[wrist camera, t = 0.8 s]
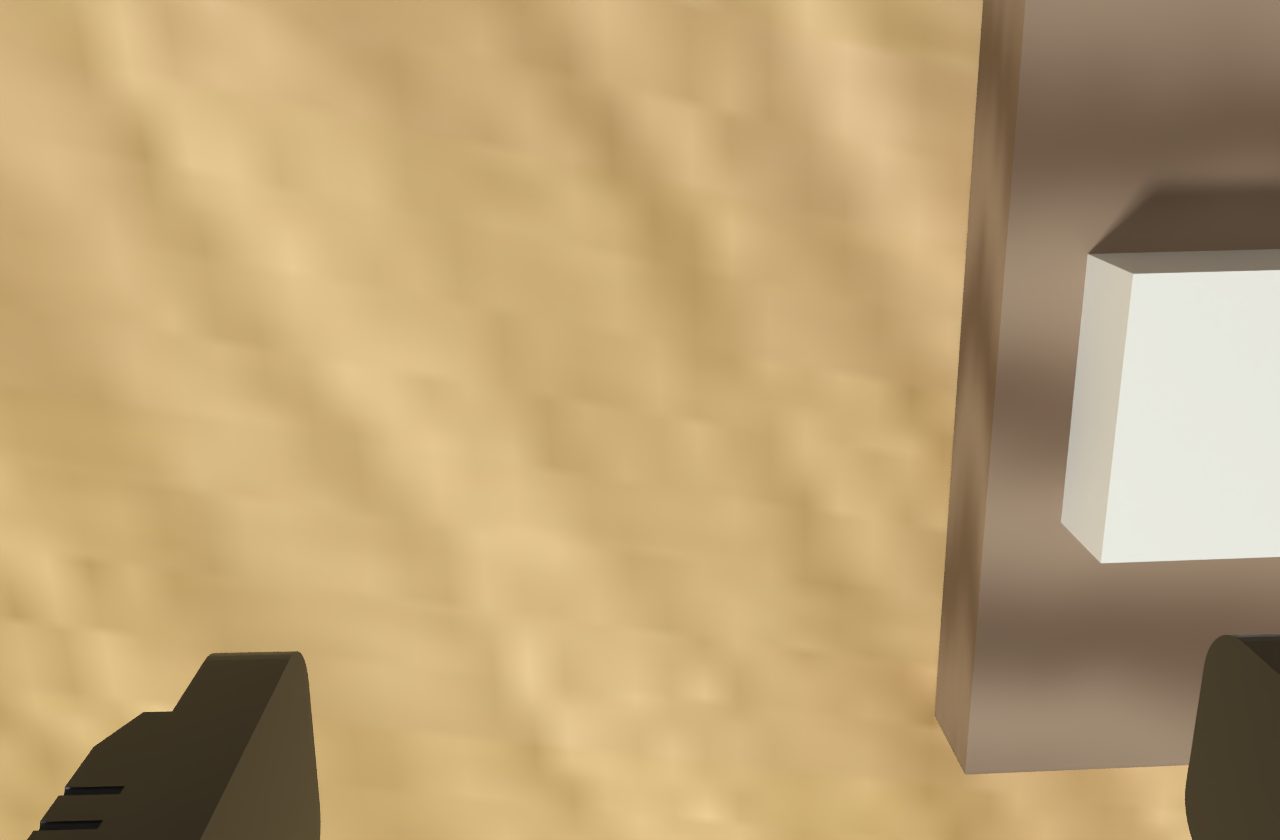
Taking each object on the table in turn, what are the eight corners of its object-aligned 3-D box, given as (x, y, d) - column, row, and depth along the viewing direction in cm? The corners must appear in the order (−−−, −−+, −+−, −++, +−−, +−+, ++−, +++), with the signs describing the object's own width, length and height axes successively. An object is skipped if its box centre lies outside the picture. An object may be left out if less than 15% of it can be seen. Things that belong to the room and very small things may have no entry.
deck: (988, -71, 29) (1031, -82, 26) (1543, -79, 30) (1645, -91, 27) (935, 715, 36) (965, 774, 33) (1387, 697, 37) (1455, 753, 34)
